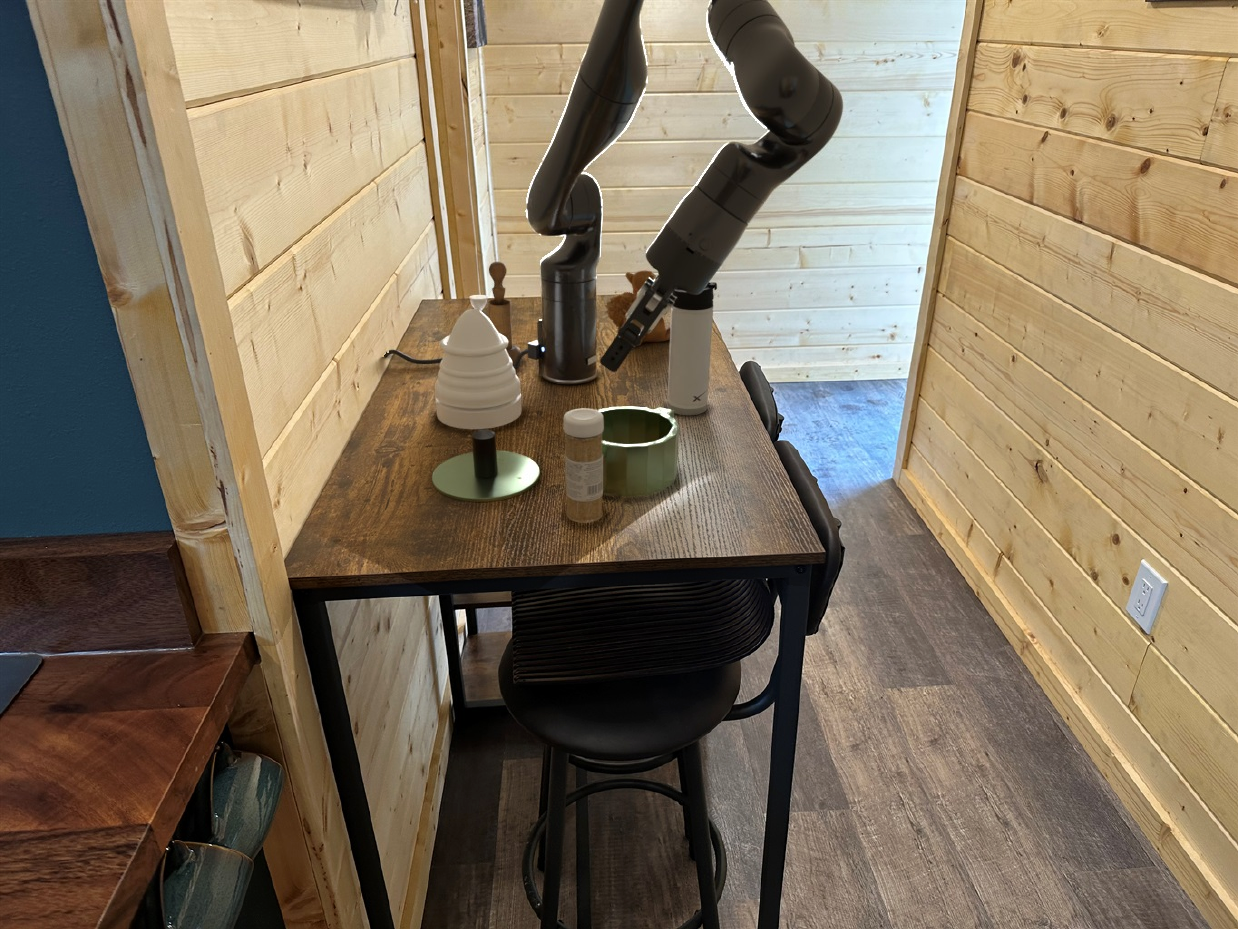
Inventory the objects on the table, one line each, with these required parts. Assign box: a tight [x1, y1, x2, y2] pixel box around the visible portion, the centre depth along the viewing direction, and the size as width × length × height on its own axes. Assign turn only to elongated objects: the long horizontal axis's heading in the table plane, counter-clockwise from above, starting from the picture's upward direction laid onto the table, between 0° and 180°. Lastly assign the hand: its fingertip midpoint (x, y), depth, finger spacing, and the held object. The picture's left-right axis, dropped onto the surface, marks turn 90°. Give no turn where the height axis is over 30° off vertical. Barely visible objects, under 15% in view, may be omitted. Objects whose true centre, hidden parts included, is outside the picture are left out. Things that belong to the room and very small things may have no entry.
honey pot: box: [433, 294, 523, 430], centre depth 123 cm, size 13×13×18 cm
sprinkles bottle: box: [563, 407, 604, 524], centre depth 96 cm, size 5×5×13 cm
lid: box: [431, 429, 541, 503], centre depth 106 cm, size 14×14×7 cm
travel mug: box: [666, 281, 718, 416], centre depth 126 cm, size 6×7×20 cm
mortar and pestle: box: [487, 261, 522, 365], centre depth 145 cm, size 7×6×18 cm
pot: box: [596, 405, 680, 498], centre depth 108 cm, size 13×18×7 cm
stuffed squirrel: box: [604, 269, 671, 347], centre depth 159 cm, size 10×14×13 cm
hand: (613, 357), depth 95 cm, fingers open, 8 cm apart
